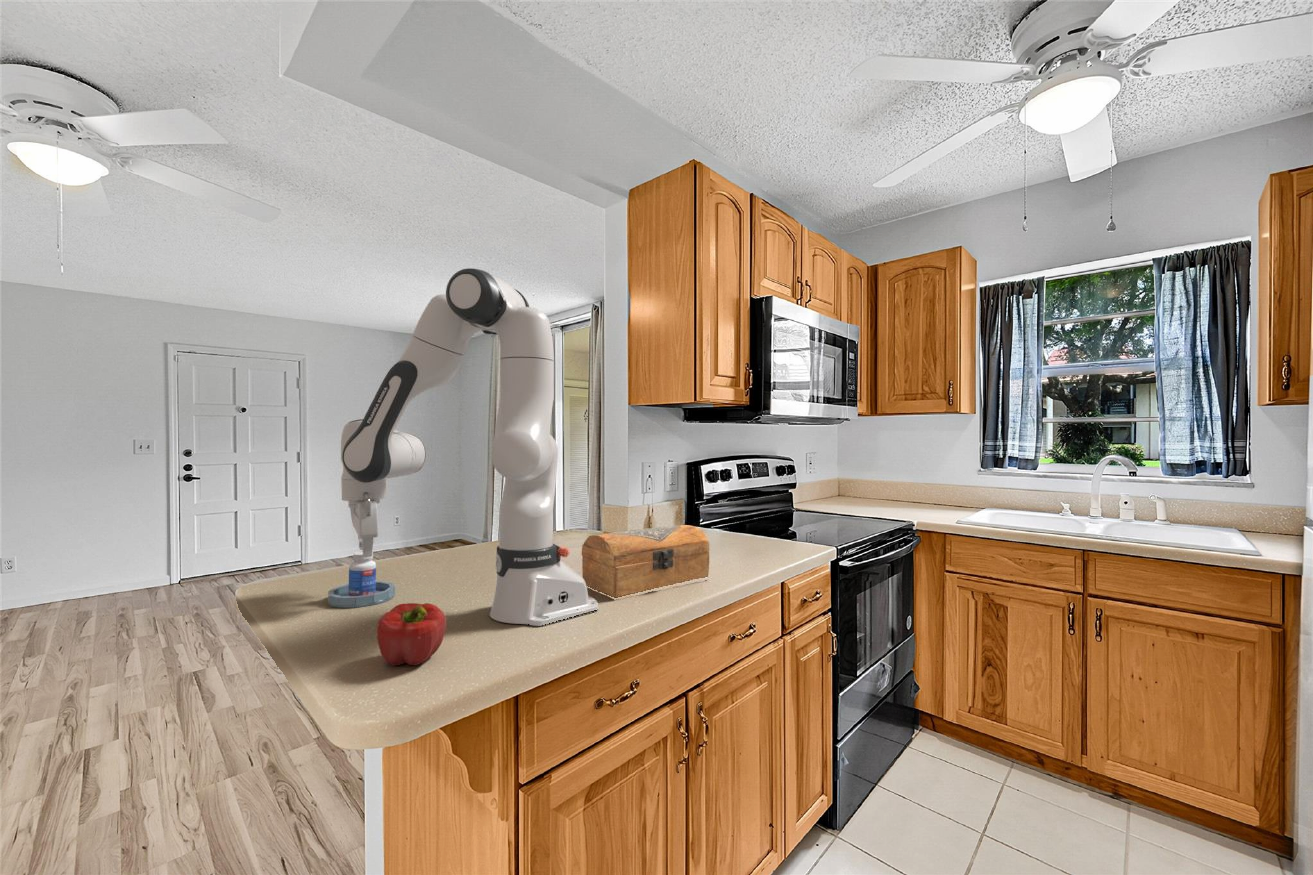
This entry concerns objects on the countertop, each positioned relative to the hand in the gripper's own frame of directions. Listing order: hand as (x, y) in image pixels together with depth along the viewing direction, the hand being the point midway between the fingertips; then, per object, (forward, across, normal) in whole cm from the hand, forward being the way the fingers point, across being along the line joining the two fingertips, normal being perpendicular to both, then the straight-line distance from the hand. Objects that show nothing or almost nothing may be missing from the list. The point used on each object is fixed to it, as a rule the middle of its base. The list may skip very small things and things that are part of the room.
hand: (365, 552), depth 122 cm
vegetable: (+12, -41, -3) cm, 43 cm away
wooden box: (+13, -21, -62) cm, 66 cm away
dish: (+10, +1, +1) cm, 10 cm away
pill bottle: (+10, 0, +1) cm, 10 cm away
